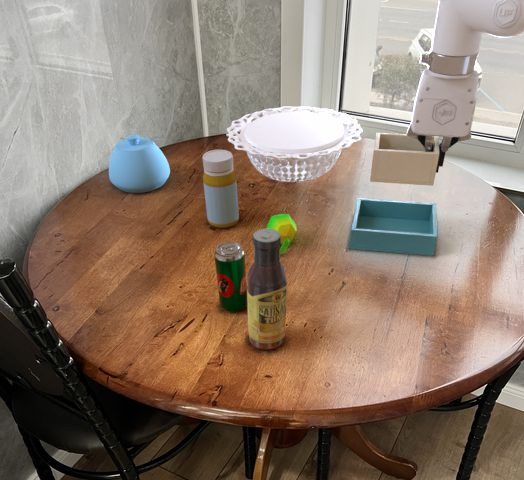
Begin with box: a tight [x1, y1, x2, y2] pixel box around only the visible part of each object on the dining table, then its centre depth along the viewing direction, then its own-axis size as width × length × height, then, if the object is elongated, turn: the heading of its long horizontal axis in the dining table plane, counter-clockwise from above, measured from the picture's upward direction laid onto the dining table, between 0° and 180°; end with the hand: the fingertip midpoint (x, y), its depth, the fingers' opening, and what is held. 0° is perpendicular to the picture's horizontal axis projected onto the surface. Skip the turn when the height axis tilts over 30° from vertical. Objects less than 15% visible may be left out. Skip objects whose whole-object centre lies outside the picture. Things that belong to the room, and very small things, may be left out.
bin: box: [349, 197, 438, 257], centre depth 112 cm, size 17×14×4 cm
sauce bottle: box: [246, 228, 288, 351], centre depth 84 cm, size 7×6×20 cm
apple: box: [266, 213, 298, 256], centre depth 111 cm, size 7×6×9 cm
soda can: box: [213, 241, 248, 313], centre depth 94 cm, size 5×5×12 cm
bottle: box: [202, 149, 240, 229], centre depth 115 cm, size 7×7×15 cm
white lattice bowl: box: [225, 105, 364, 183], centre depth 130 cm, size 32×32×13 cm
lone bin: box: [369, 131, 440, 187], centre depth 102 cm, size 12×8×6 cm
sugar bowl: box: [108, 133, 171, 194], centre depth 133 cm, size 15×15×12 cm
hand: (431, 168), depth 102 cm, fingers closed on lone bin, 1 cm apart
